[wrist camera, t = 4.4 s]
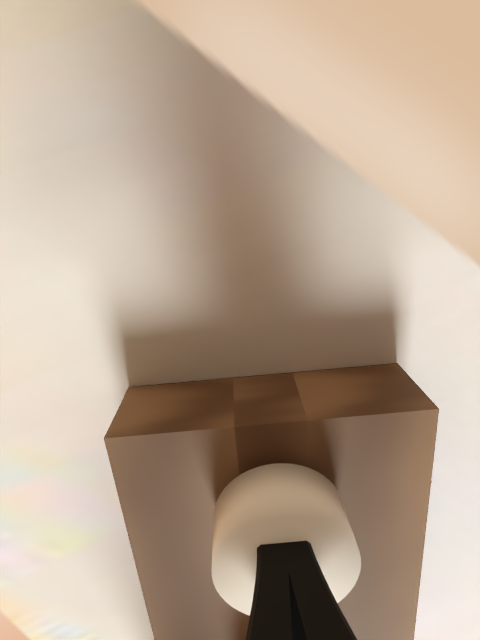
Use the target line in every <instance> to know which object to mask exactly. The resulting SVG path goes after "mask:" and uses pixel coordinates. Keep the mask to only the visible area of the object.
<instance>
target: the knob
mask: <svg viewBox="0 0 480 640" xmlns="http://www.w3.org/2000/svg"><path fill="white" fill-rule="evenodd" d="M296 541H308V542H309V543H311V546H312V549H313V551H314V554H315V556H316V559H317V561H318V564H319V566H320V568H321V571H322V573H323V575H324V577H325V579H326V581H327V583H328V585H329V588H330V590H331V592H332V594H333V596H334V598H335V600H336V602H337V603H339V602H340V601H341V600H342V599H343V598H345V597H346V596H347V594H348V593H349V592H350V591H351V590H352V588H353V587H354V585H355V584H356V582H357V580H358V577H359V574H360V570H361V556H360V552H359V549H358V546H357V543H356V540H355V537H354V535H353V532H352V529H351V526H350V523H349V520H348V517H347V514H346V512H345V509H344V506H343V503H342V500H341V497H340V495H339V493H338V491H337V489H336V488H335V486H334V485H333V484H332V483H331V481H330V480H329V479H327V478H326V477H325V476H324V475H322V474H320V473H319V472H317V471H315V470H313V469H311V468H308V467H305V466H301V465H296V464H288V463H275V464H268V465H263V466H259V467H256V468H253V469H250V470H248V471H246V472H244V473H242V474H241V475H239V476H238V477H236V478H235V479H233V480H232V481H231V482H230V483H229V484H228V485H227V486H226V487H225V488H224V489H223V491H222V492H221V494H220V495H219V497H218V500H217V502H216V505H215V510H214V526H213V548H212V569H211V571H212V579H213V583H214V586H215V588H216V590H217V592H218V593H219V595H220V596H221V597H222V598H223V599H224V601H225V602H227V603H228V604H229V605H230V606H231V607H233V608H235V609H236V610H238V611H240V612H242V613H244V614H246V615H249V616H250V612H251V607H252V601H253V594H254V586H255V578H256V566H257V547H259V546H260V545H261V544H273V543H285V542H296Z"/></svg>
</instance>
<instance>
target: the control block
mask: <svg viewBox="0 0 480 640" xmlns="http://www.w3.org/2000/svg"><path fill="white" fill-rule="evenodd" d="M438 413H439V408H438V407H437V406H436V405H435V404H434V403H433V402H432V401H431V400H430V399H429V397H428V396H427V395H426V394H425V393H424V392H423V391H422V390H421V389H420V388H419V387H418V385H417V384H416V383H415V382H414V381H413V380H412V379H411V378H410V377H409V376H408V374H407V373H406V372H405V371H404V370H403V369H402V368H401V367H400V366H399V365H398V364H397V363H396V364H385V365H373V366H362V367H351V368H340V369H328V370H317V371H306V372H295V373H283V374H272V375H261V376H250V377H238V378H227V379H216V380H204V381H193V382H182V383H171V384H159V385H148V386H137V387H129V388H128V390H127V392H126V394H125V396H124V398H123V400H122V402H121V404H120V406H119V409H118V411H117V413H116V415H115V417H114V419H113V421H112V423H111V425H110V427H109V429H108V431H107V433H106V435H105V437H104V441H105V445H106V449H107V452H108V456H109V460H110V464H111V468H112V472H113V476H114V480H115V484H116V488H117V492H118V496H119V500H120V504H121V508H122V512H123V516H124V520H125V524H126V528H127V532H128V536H129V540H130V544H131V548H132V552H133V556H134V560H135V564H136V568H137V572H138V576H139V579H140V583H141V587H142V591H143V595H144V599H145V603H146V607H147V611H148V615H149V619H150V623H151V627H152V631H153V635H154V639H155V640H245V639H246V634H247V629H248V623H249V618H250V616H249V615H246V614H244V613H242V612H240V611H238V610H236V609H235V608H233V607H231V606H230V605H229V604H228V603H227V602H225V601H224V599H223V598H222V597H221V596H220V595H219V593H218V592H217V590H216V588H215V586H214V583H213V579H212V571H211V569H212V548H213V526H214V510H215V505H216V502H217V500H218V497H219V495H220V494H221V492H222V491H223V489H224V488H225V487H226V486H227V485H228V484H229V483H230V482H231V481H232V480H233V479H235V478H236V477H238V476H239V475H241V474H242V473H244V472H246V471H248V470H250V469H253V468H256V467H259V466H263V465H268V464H275V463H288V464H296V465H301V466H305V467H308V468H311V469H313V470H315V471H317V472H319V473H320V474H322V475H324V476H325V477H326V478H327V479H329V480H330V481H331V483H332V484H333V485H334V486H335V488H336V489H337V491H338V493H339V495H340V497H341V500H342V503H343V506H344V509H345V512H346V514H347V517H348V520H349V523H350V526H351V529H352V532H353V535H354V537H355V540H356V543H357V546H358V549H359V552H360V556H361V570H360V574H359V577H358V580H357V582H356V584H355V585H354V587H353V588H352V590H351V591H350V592H349V593H348V594H347V596H346V597H345V598H343V599H342V600H341V601H340V602H339V603H338V605H339V607H340V609H341V611H342V613H343V615H344V616H345V618H346V620H347V622H348V624H349V626H350V627H351V629H352V631H353V633H354V635H355V636H356V638H357V640H414V632H415V623H416V613H417V604H418V595H419V586H420V577H421V568H422V559H423V550H424V541H425V532H426V522H427V513H428V504H429V495H430V486H431V477H432V468H433V459H434V450H435V441H436V431H437V422H438Z"/></svg>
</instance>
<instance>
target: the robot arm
mask: <svg viewBox="0 0 480 640" xmlns="http://www.w3.org/2000/svg"><path fill="white" fill-rule="evenodd" d="M245 640H357V638H356V636H355V635H354V633H353V631H352V629H351V627H350V626H349V624H348V622H347V620H346V618H345V616H344V615H343V613H342V611H341V609H340V607H339V605H338V603H337V602H336V600H335V598H334V596H333V594H332V592H331V590H330V588H329V585H328V583H327V581H326V579H325V577H324V575H323V573H322V571H321V568H320V566H319V564H318V561H317V559H316V556H315V554H314V551H313V549H312V546H311V543H309V542H308V541H296V542H285V543H273V544H261V545H260V546H259V547H257V566H256V578H255V586H254V594H253V601H252V607H251V612H250V618H249V623H248V629H247V634H246V639H245Z"/></svg>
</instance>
